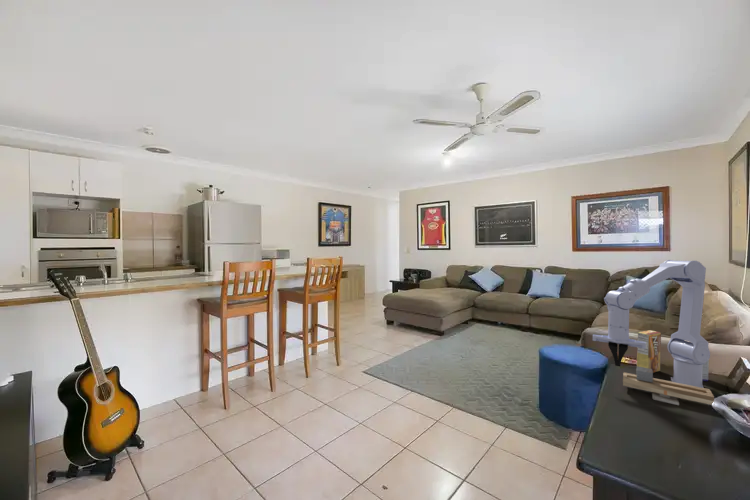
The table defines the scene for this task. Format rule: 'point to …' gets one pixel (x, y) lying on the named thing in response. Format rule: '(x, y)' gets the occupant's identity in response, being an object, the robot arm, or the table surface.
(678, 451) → the table surface
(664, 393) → the tan slotted track
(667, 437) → the table surface
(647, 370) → the block
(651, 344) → the candy box
